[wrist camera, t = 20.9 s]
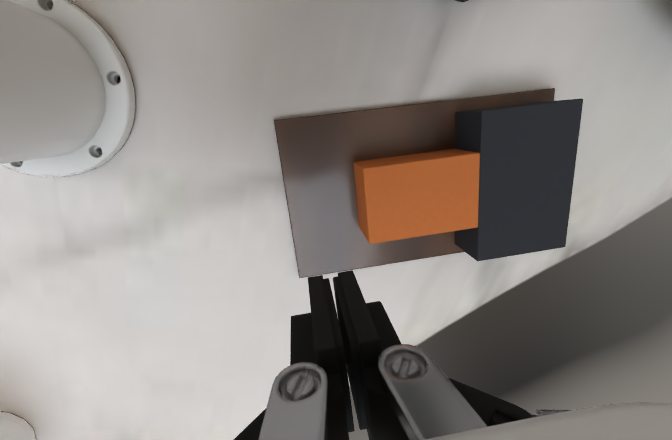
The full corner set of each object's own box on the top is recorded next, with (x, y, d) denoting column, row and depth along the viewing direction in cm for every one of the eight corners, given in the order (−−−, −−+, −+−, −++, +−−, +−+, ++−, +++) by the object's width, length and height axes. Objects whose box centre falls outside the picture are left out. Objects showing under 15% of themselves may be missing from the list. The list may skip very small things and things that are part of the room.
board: (299, 275, 30) (299, 278, 29) (274, 120, 26) (273, 120, 25) (536, 237, 32) (540, 239, 31) (549, 88, 28) (555, 88, 27)
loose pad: (359, 228, 29) (369, 244, 25) (352, 161, 27) (362, 168, 23) (454, 214, 29) (478, 227, 26) (454, 148, 28) (480, 152, 24)
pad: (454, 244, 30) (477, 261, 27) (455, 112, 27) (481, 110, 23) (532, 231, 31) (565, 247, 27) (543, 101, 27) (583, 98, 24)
